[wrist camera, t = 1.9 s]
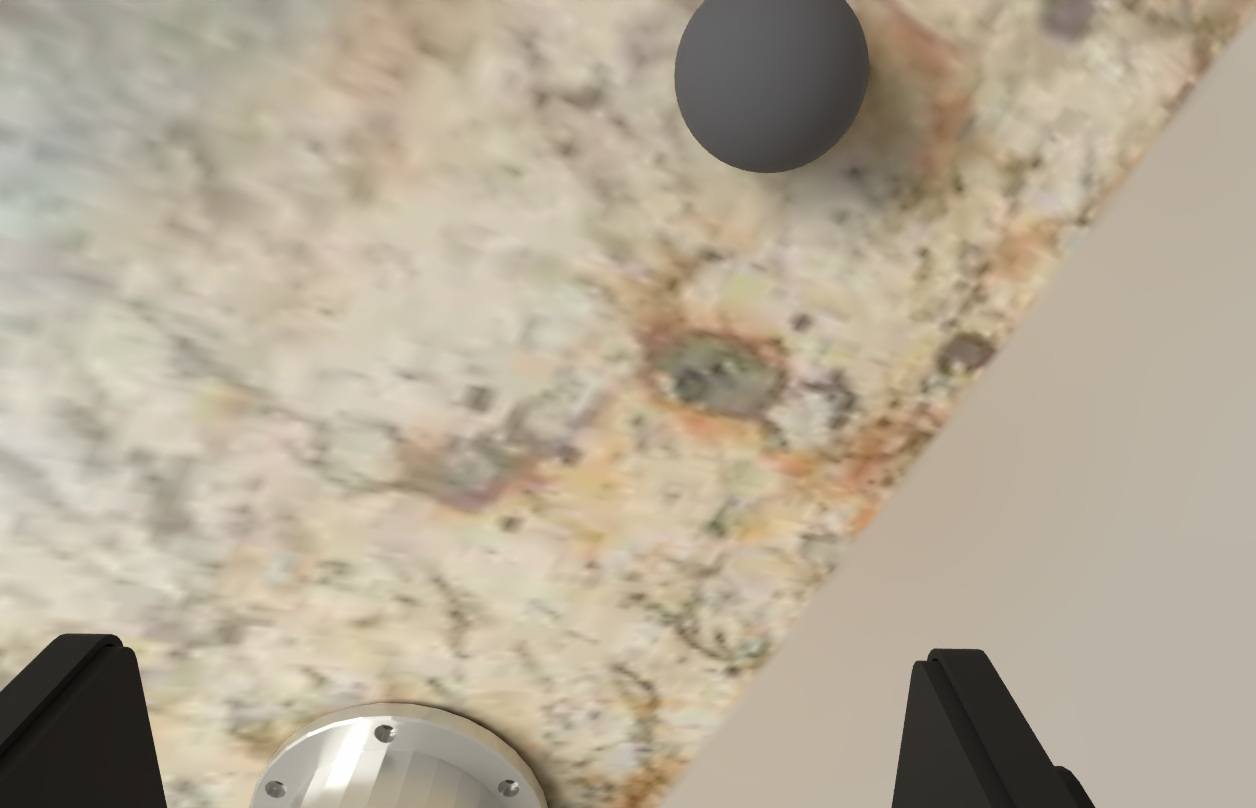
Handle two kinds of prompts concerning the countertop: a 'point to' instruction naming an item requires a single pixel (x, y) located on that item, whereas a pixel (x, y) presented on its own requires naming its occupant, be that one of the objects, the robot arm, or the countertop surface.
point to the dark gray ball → (771, 79)
